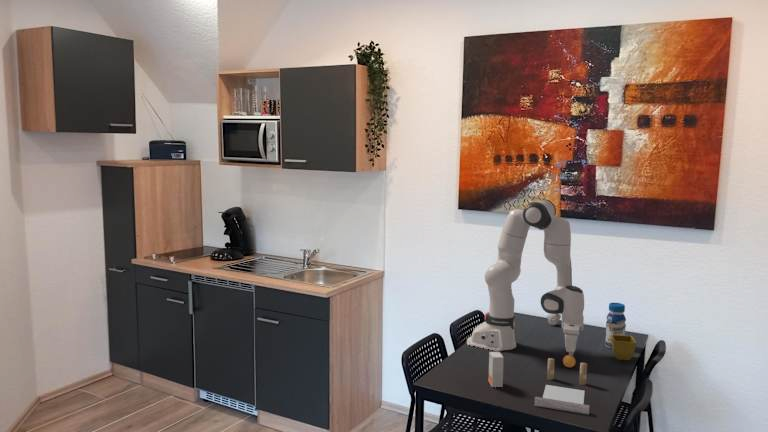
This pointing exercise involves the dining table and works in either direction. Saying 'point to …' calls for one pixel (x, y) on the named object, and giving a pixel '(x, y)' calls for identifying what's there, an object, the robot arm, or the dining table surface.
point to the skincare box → (496, 369)
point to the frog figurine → (553, 318)
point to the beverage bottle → (615, 322)
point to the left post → (550, 369)
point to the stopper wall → (562, 405)
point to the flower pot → (623, 346)
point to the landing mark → (564, 394)
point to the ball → (569, 361)
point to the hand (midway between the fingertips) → (571, 355)
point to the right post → (583, 373)
